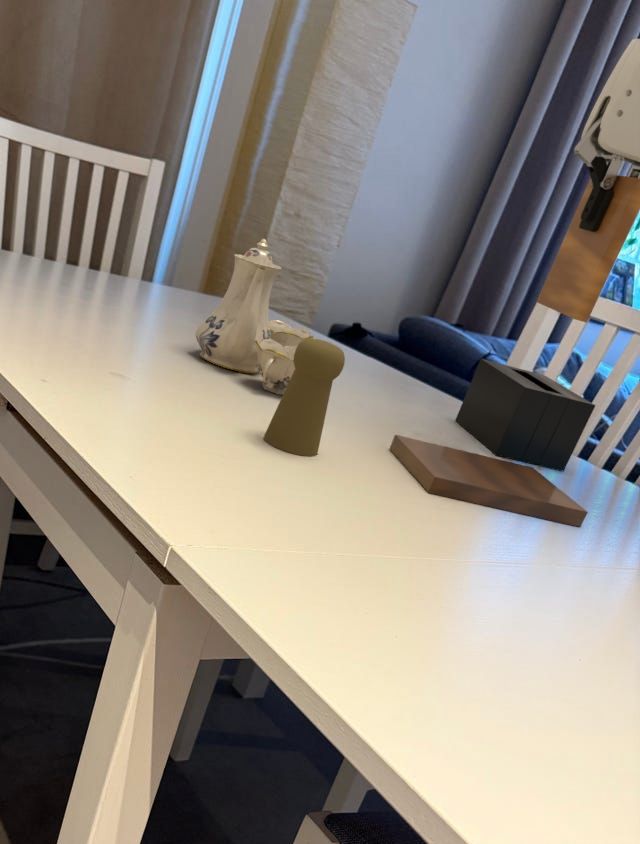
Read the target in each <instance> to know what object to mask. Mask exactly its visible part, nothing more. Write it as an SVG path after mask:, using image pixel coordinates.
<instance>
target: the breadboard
mask: <svg viewBox="0 0 640 844" xmlns="http://www.w3.org/2000/svg"><path fill="white" fill-rule="evenodd" d="M389 450H390V451H391V453H392V454H393V455H394V456H395V457H396V458H397V459H398V460H399V462H400V463H401V464H402V465H403V466H404V467H405V469H407V471H408V472H409V473H410V474H411V475H412V476H413V477H414V478H415V480H416V481H418V483H419V484H420V485H421V486H422V487H423V489H424V490H426V492H427V493H428V494H433V495H436V496H442V497H445V498H446V497H447V498H449V499H450V498H451V499H455V500H459V501H462V502H463V501H464V502H468V503H472V504H476V505H481V506H485V507H488V508H489V507H490V508H494V509H499V510H504V511H507V512H511V513H516V514H521V515H525V516H530V517H534V518H539V519H543V520H547V521H551V522H555V523H560V524H565V525H569V526H573V527H578V528H581V527H582V525H583V523H584V521H585V519H586V517H587V515H588V513H589V512H588V511H587V509H585V508H584V507H583V506H581V505H580V504H578V502H577V501H575V500H573V499H572V497H570V496H568V494H566V493H565V492H564V491H563V490H561V489H560V488H559V487H558V486H556V485H555V483H553V482H552V481H550V480H549V479H548V478H546V476H544V475H542V474H541V472H539V471H538V470H537V469H536V468H534V467H532V466H530V465H525V464H520V463H516V462H512V461H508V460H504V459H500V458H495V457H491V456H487V455H483V454H478V453H475V452H469V451H466V450H461V449H457V448H453V447H449V446H445V445H441V444H438V443H437V444H436V443H433V442H428V441H424V440H419V439H416V438H411V437H407V436H403V435H398V434H394V436H393V438H392V441H391V444H390V447H389Z"/></svg>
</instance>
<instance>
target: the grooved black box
mask: <svg viewBox="0 0 640 844" xmlns="http://www.w3.org/2000/svg"><path fill="white" fill-rule="evenodd" d="M595 408H596V404H594V403H592V402H590V401H589V400H587V399H586V398H584V397H583V396H580V394H577V393H576V392H574V391H572V390H570V389H569V388H567V387H565V386H563V385H562V384H560V383H559V382H557V381H555V380H553V379H552V378H550V377H548V376H547V375H546V374H542V373H538V372H534V371H531V370H526V369H522V368H520V367H519V368H518V367H514V366H511V365H507V364H504V363H499V362H495V361H491V360H487V359H484V358H480V359H479V362H478V364H477V367H476V369H475V371H474V373H473V377H472V378H471V381H470V384H469V386H468V389H467V391H466V394H465V396H464V398H463V400H462V403H461V405H460V408H459V410H458V413H457V415H456V416H455V417H456V418H455V420H454V421H455V422H456V423H457V424H459V425H460V427H462V428H463V429H465V430H466V431H467V432H468V433H470V435H472V436H473V438H475V439H476V440H478V441H479V442H480V443H481V444H482V445H483V446H484V447H486V448H487V449H488V450H489V451H490V452H492V453H493V454H494V455H495V456H497V457H502V458H507V459H510V460H514V461H519V462H523V461H524V462H523V463H527V462H529V463H528V464H531V463H533V464H532V465H535V464H537V465H536V466H540V465H541V466H540V467H545V468H548V467H550V468H549V469H552V468H554V469H553V470H556V469H559V470H558V471H560V470H563V471H562V472H565V469H566V467H567V465H568V463H569V461H570V459H571V457H572V455H573V453H574V451H575V449H576V447H577V445H578V443H579V440H580V439H581V436H582V434H583V432H584V430H585V429H586V427H587V424H588V422H589V420H590V418H591V416H592V414H593V412H594V410H595Z"/></svg>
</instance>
